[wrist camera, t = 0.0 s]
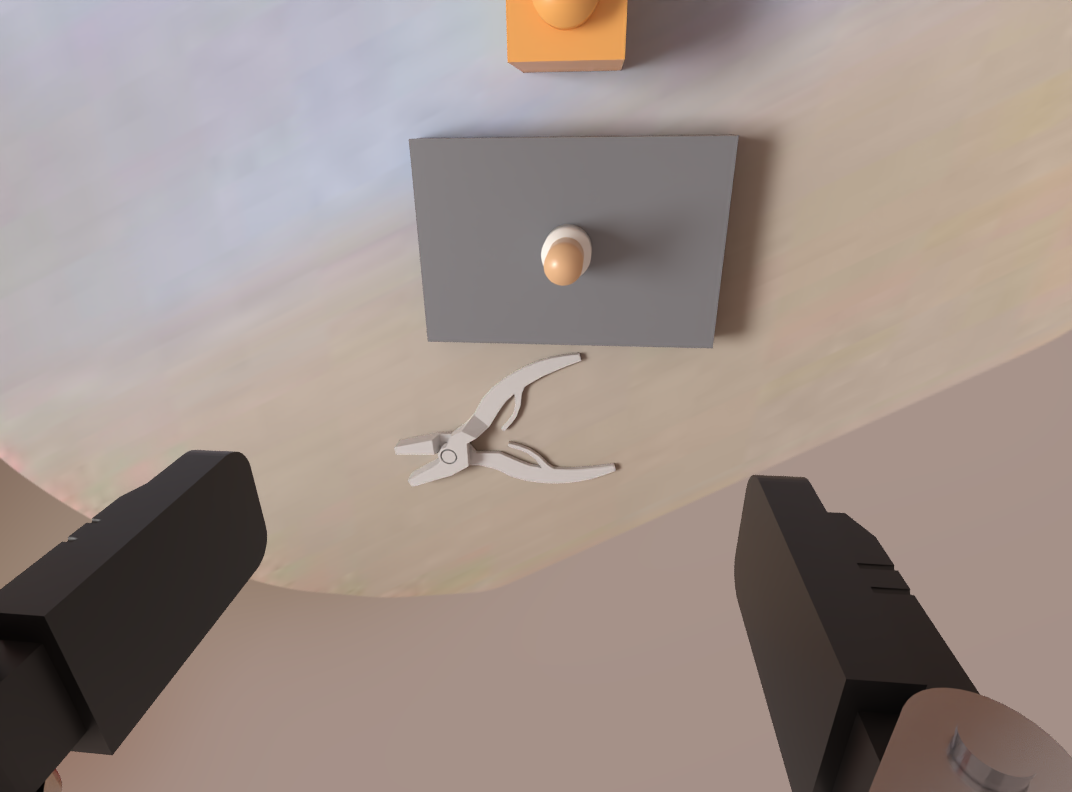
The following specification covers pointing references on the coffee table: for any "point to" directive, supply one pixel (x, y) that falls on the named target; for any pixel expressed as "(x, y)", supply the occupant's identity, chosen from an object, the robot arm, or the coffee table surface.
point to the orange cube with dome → (566, 35)
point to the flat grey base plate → (573, 238)
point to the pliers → (462, 454)
